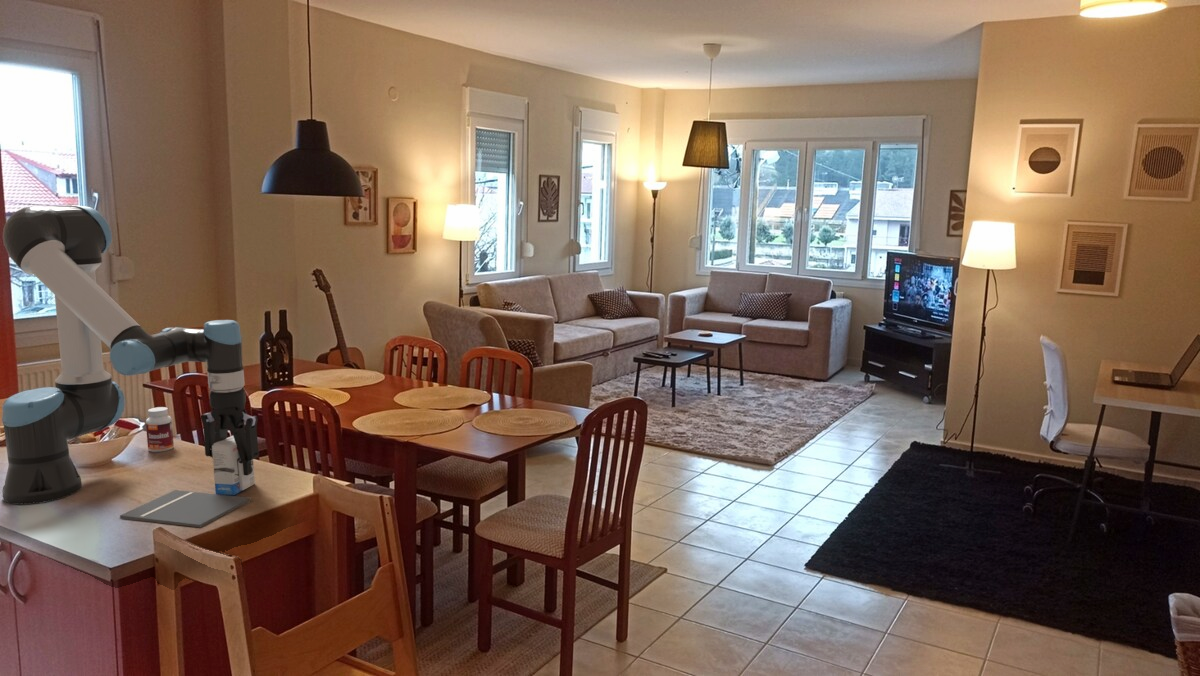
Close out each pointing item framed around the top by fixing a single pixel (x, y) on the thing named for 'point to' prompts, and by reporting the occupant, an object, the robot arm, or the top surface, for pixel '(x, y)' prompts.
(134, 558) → the top surface
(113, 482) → the top surface
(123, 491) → the top surface
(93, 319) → the robot arm
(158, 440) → the pill bottle
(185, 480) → the top surface
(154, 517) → the mat
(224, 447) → the ink box
